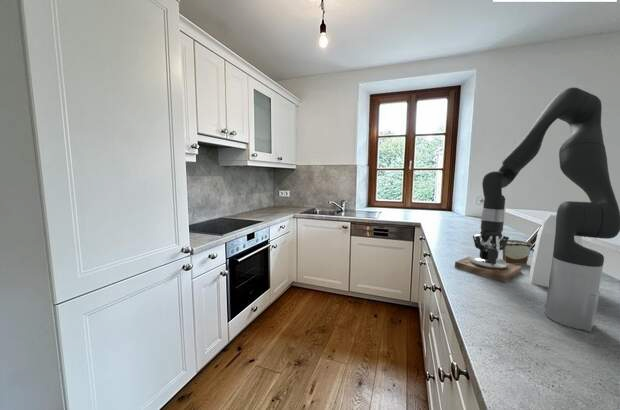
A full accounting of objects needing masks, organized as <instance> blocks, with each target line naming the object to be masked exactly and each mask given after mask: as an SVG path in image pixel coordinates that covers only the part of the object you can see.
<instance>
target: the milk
mask: <svg viewBox="0 0 620 410" xmlns="http://www.w3.org/2000/svg"><path fill="white" fill-rule="evenodd" d="M556 215H557V214H552V213H551V214H549V215H548V216H547V217H546V219H545V220H544V221H543V223H542V224H541V226H540V228H539V229H538V231H537V235H536V240H535V245H534V250H533V255H532V260H531V263H530V264H531V265H530V268H529V269H530V270H529V275H528V276H529V279H530V282H531V283H530V284H531V285H532V284H533V285H538V286H542V287H545V288H546V287H547V288H548V286H549V279H550V272H551V265H552V258H553V251H554V241H555V231H556ZM574 240H575V242H576V243H578V244H579V245H581V246H583V238H582V236H574Z"/></svg>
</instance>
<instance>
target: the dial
mask: <svg viewBox="0 0 620 410" xmlns="http://www.w3.org/2000/svg"><path fill="white" fill-rule="evenodd" d="M469 256H470V262H471V263H473V264H475V265H478V266H481V267H486V268H491V269H506V268H507V262H505V261H504V260H503V259H501V258H499V257H498V258H497V249H496V248H494V247H493V246H492V245H491V243H490V244H489V246H488V247H487V249H486V259H485V260H484V259H481V257H480V254H472V256H471V255H469ZM496 258H497V260H496Z"/></svg>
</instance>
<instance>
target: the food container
mask: <svg viewBox="0 0 620 410" xmlns="http://www.w3.org/2000/svg"><path fill="white" fill-rule="evenodd" d="M532 248H533V244H532V243H531V242H528V241H524V240H516V239H508V242H507V244H506V246H505V248H504V250H502V260H504V261H505V262H507V263H509V264H513V265H527V264H528V261H529V257H530V253H531V249H532Z"/></svg>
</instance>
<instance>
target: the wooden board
mask: <svg viewBox="0 0 620 410" xmlns="http://www.w3.org/2000/svg"><path fill="white" fill-rule="evenodd" d="M472 255H473V254H472ZM472 255H469V256H466V257H464V258H461V259H459V260H457V261H455V262H454V268H456V269H459V270H462V271H463V270H464V271H465V272H466V271H467V272H469V273H472V274H475V275H476V274H477V275H478V276H483V277H484V278H485V277H486V278H489V279H493V280H497V281H498V282H502V283H506V282H508V281H509V280H511V279H513V278H514V277H516V276H517V275H519V274H520V273H521V272H522V266H521V265H518V264H509V263H507V268H506V269H491V268H486V267H481V266H478V265H475V264H473V263H471V262H470V256H472Z"/></svg>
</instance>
